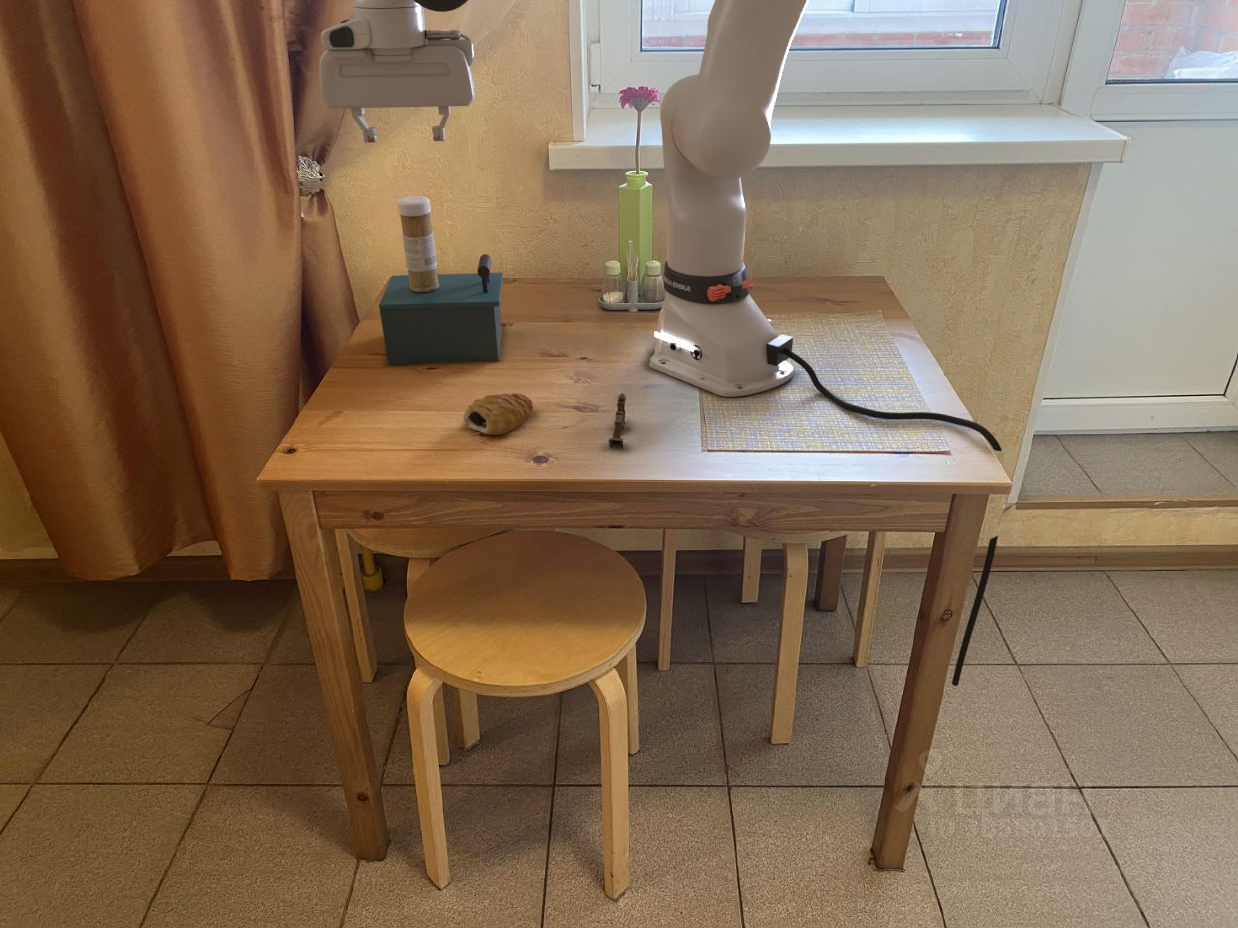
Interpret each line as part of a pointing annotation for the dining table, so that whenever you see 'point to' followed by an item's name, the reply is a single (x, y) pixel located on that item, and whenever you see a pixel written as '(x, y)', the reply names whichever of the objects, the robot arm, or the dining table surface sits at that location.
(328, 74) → the robot arm
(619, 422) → the wooden post with brackets
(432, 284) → the sprinkles bottle
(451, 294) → the lid
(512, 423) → the pastry
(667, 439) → the dining table surface
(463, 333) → the chest
